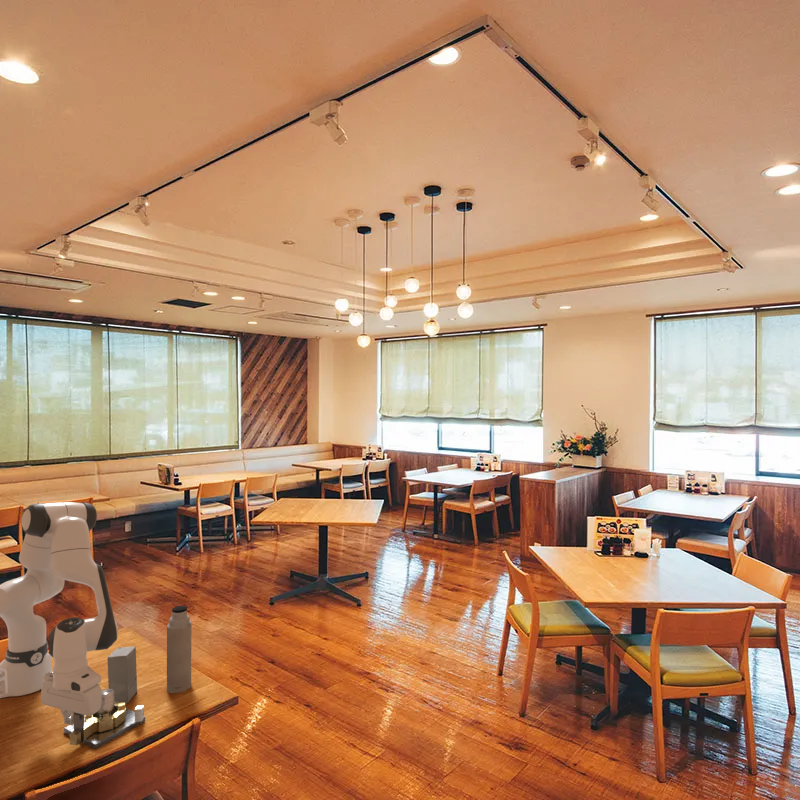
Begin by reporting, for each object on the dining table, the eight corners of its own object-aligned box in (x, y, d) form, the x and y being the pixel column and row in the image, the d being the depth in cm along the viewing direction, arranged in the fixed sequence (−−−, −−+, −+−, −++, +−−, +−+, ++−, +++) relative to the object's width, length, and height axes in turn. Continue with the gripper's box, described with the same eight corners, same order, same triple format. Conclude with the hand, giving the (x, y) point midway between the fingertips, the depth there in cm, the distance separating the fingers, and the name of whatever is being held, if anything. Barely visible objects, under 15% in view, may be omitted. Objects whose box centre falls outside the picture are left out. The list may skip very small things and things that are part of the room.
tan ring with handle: (104, 708, 176) (104, 683, 176) (133, 713, 174) (133, 688, 174) (57, 741, 160) (57, 714, 160) (88, 747, 157) (89, 719, 157)
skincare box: (128, 704, 183) (128, 656, 182) (105, 705, 182) (106, 657, 182) (138, 690, 191) (138, 645, 191) (117, 691, 190) (117, 645, 190)
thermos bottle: (162, 693, 189) (163, 612, 189) (172, 681, 197) (172, 603, 197) (186, 693, 189) (186, 612, 189) (194, 681, 197) (194, 603, 197)
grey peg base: (64, 732, 167) (64, 698, 167) (114, 707, 181) (114, 675, 181) (98, 751, 158) (98, 714, 158) (148, 722, 172) (148, 689, 172)
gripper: (34, 675, 162) (34, 722, 162) (86, 687, 156) (86, 736, 156) (54, 665, 168) (54, 711, 168) (105, 677, 161) (105, 724, 161)
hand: (70, 723), depth 162 cm, fingers closed
